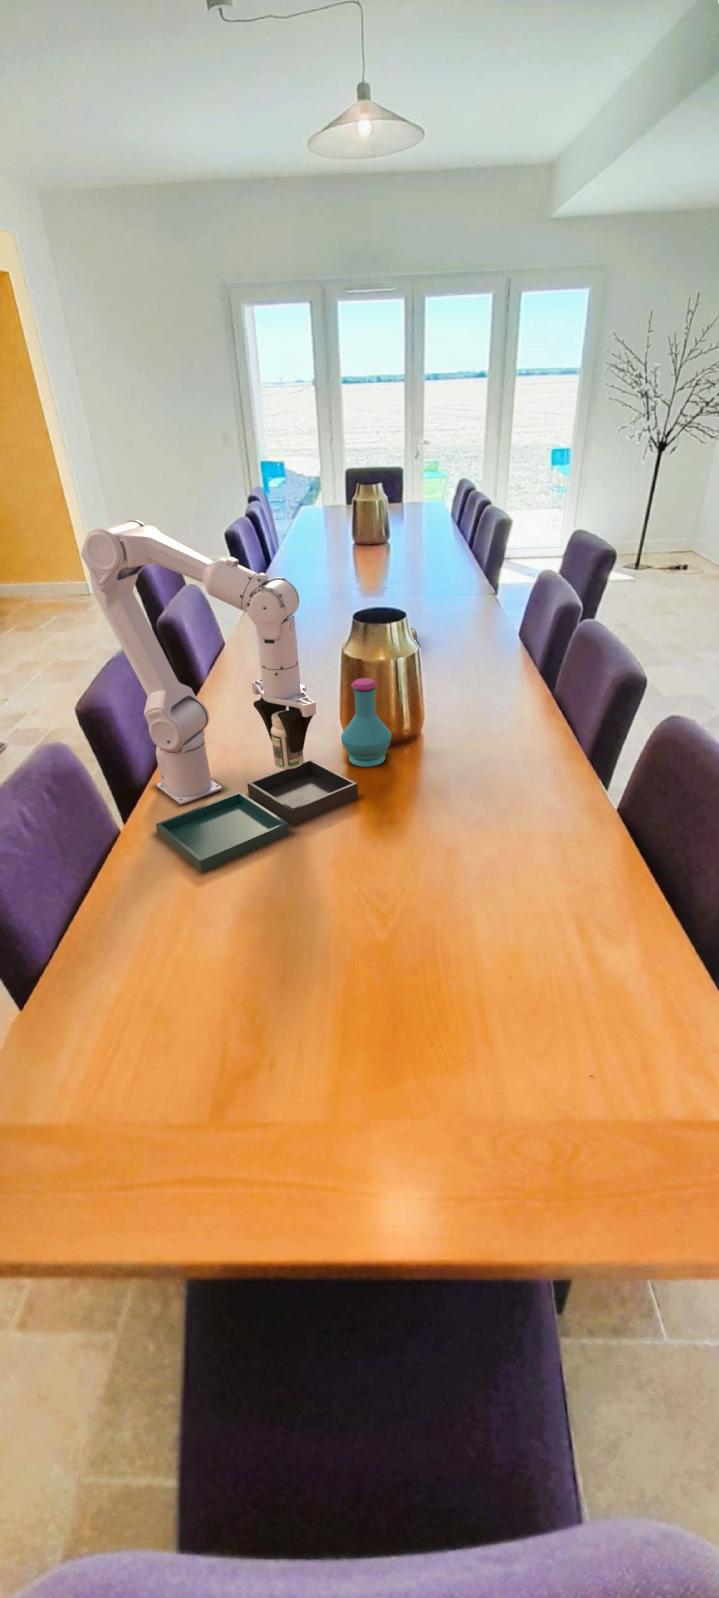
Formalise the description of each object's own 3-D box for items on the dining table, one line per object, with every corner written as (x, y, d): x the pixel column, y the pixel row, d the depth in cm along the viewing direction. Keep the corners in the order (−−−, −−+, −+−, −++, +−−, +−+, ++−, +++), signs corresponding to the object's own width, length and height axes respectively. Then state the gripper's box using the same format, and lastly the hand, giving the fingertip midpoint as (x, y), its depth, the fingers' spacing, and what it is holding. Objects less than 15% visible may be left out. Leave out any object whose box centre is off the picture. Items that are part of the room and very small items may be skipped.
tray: (157, 834, 112) (155, 823, 111) (241, 801, 121) (239, 791, 120) (201, 872, 103) (199, 861, 102) (289, 834, 111) (288, 823, 110)
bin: (248, 797, 122) (246, 782, 121) (311, 772, 129) (310, 758, 128) (293, 826, 113) (291, 810, 112) (358, 798, 120) (357, 783, 119)
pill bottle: (307, 757, 118) (302, 709, 114) (299, 770, 114) (295, 721, 110) (279, 756, 119) (274, 708, 115) (270, 769, 115) (265, 720, 111)
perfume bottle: (387, 771, 128) (385, 691, 121) (337, 768, 130) (332, 689, 123) (395, 749, 136) (394, 673, 129) (348, 747, 138) (344, 672, 131)
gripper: (329, 668, 106) (335, 752, 112) (274, 648, 115) (282, 726, 122) (290, 680, 102) (298, 766, 108) (236, 658, 112) (247, 738, 118)
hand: (287, 746), depth 115 cm, fingers closed on pill bottle, 5 cm apart
